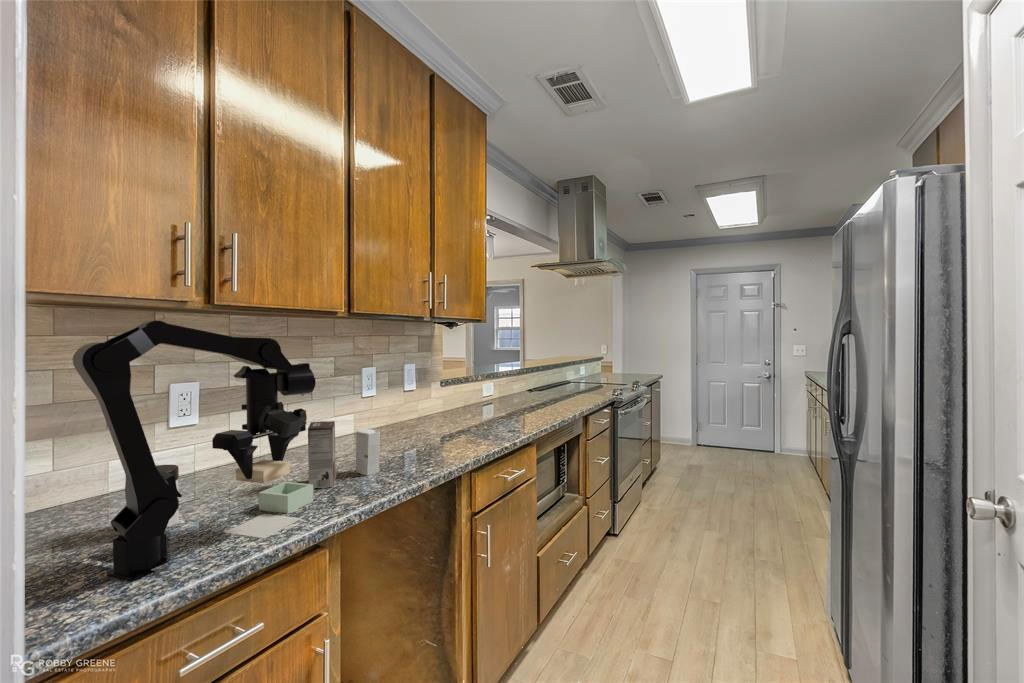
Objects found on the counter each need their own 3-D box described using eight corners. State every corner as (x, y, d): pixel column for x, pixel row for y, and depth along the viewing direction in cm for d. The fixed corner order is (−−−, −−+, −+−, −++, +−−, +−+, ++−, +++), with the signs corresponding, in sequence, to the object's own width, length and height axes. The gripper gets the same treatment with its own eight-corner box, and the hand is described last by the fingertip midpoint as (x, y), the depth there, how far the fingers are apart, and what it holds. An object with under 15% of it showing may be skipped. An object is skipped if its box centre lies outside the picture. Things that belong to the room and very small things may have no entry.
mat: (264, 541, 89) (264, 538, 89) (224, 535, 92) (224, 532, 92) (301, 521, 99) (301, 518, 99) (264, 516, 102) (264, 513, 102)
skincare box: (355, 472, 134) (354, 431, 134) (368, 468, 138) (367, 428, 137) (367, 476, 130) (367, 433, 130) (381, 472, 134) (380, 430, 134)
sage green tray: (287, 516, 102) (287, 495, 102) (259, 512, 104) (258, 492, 104) (313, 503, 109) (313, 484, 109) (286, 500, 112) (285, 481, 112)
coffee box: (311, 479, 128) (310, 421, 127) (336, 477, 130) (335, 420, 129) (307, 490, 119) (306, 428, 119) (334, 487, 121) (333, 426, 121)
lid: (263, 483, 91) (263, 471, 91) (236, 480, 93) (235, 468, 93) (290, 473, 98) (290, 461, 98) (264, 470, 100) (263, 459, 100)
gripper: (256, 406, 84) (257, 491, 84) (325, 393, 102) (326, 464, 102) (209, 404, 87) (211, 486, 87) (284, 392, 105) (285, 460, 105)
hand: (263, 473), depth 95 cm, fingers closed on lid, 7 cm apart
